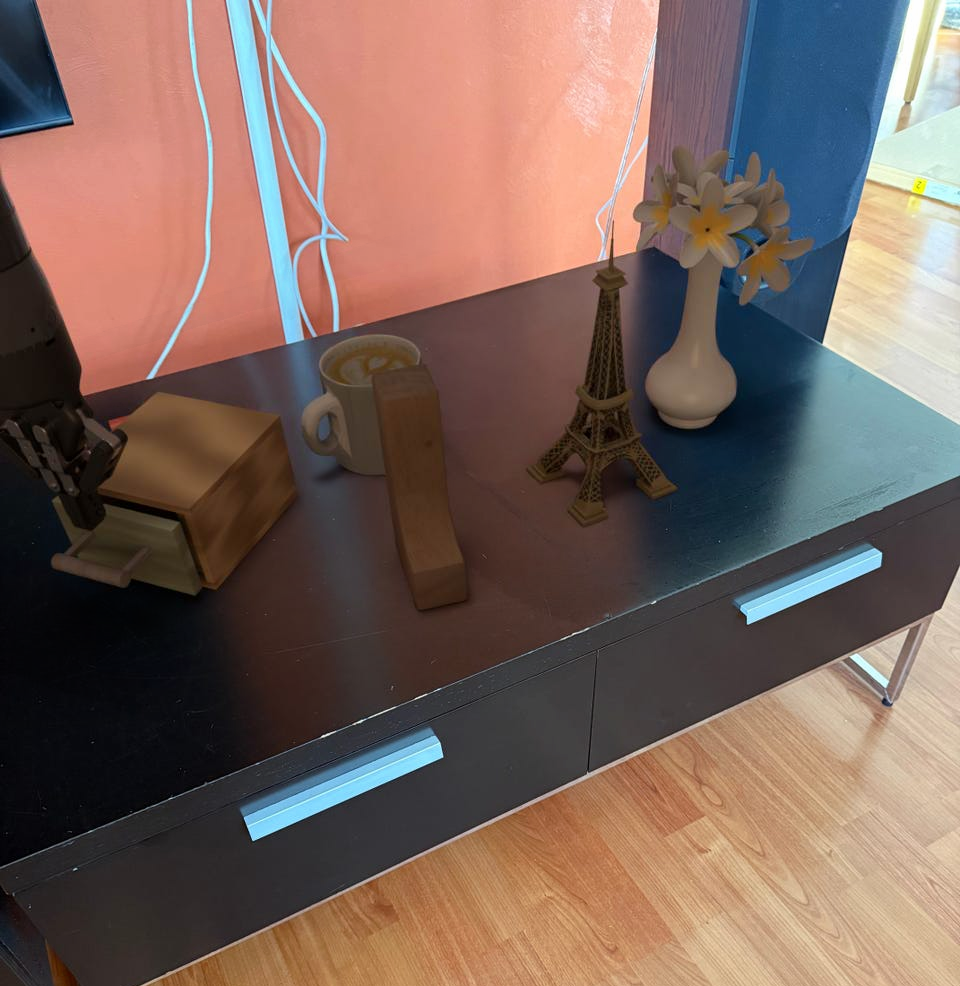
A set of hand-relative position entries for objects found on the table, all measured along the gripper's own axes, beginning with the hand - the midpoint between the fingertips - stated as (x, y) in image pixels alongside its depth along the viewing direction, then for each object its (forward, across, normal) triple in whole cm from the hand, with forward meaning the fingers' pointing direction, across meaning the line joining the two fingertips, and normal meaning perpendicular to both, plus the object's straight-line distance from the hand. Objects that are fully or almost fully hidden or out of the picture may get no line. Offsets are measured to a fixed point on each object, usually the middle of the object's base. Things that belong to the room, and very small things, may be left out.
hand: (91, 523), depth 77 cm
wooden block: (+9, +24, +12) cm, 28 cm away
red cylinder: (+7, -14, +22) cm, 27 cm away
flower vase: (+9, +40, +44) cm, 60 cm away
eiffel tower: (+9, +34, +30) cm, 46 cm away
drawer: (+8, 0, +6) cm, 10 cm away
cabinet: (+9, 0, +11) cm, 15 cm away
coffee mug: (+9, +10, +28) cm, 31 cm away
